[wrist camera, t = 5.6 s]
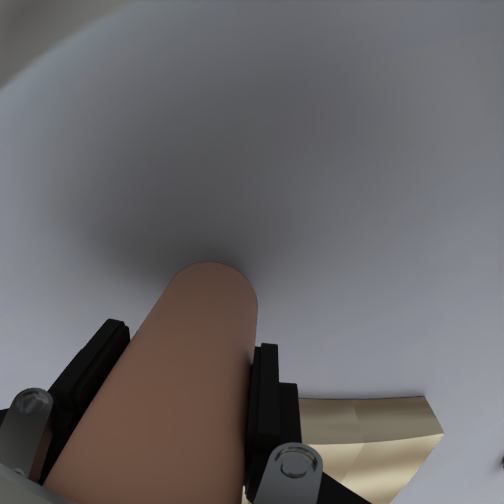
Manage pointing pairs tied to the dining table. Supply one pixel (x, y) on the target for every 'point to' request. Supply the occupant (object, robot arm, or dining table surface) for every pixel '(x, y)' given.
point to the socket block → (370, 441)
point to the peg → (171, 402)
